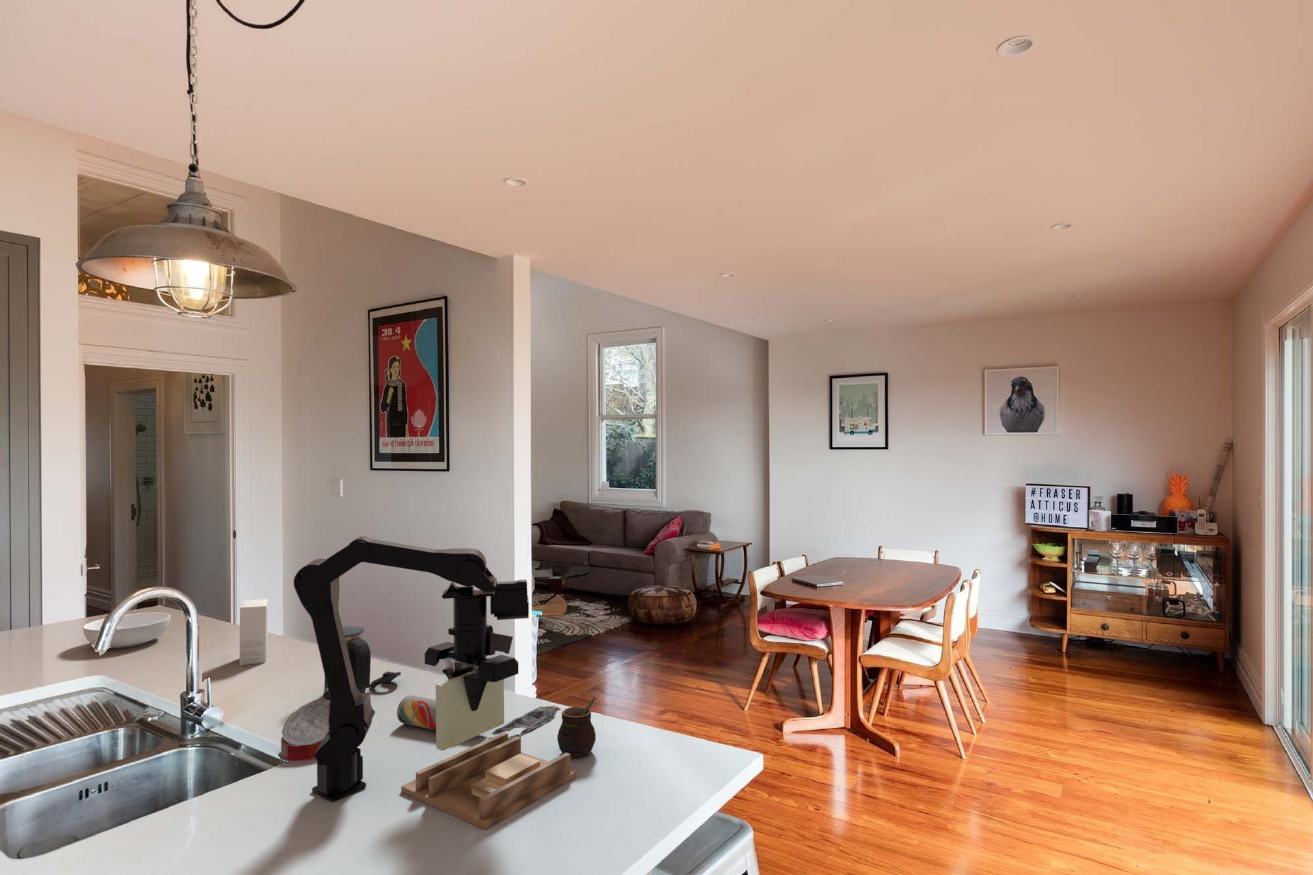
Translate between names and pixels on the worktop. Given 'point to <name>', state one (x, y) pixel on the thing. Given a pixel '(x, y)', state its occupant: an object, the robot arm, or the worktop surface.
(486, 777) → the oak offcut
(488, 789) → the pine offcut
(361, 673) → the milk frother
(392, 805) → the worktop surface
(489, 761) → the walnut rack
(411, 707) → the lotion bottle
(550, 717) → the driftwood
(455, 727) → the green sheet
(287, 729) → the canned food
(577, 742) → the mate gourd
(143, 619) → the serving bowl
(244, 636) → the skincare box
